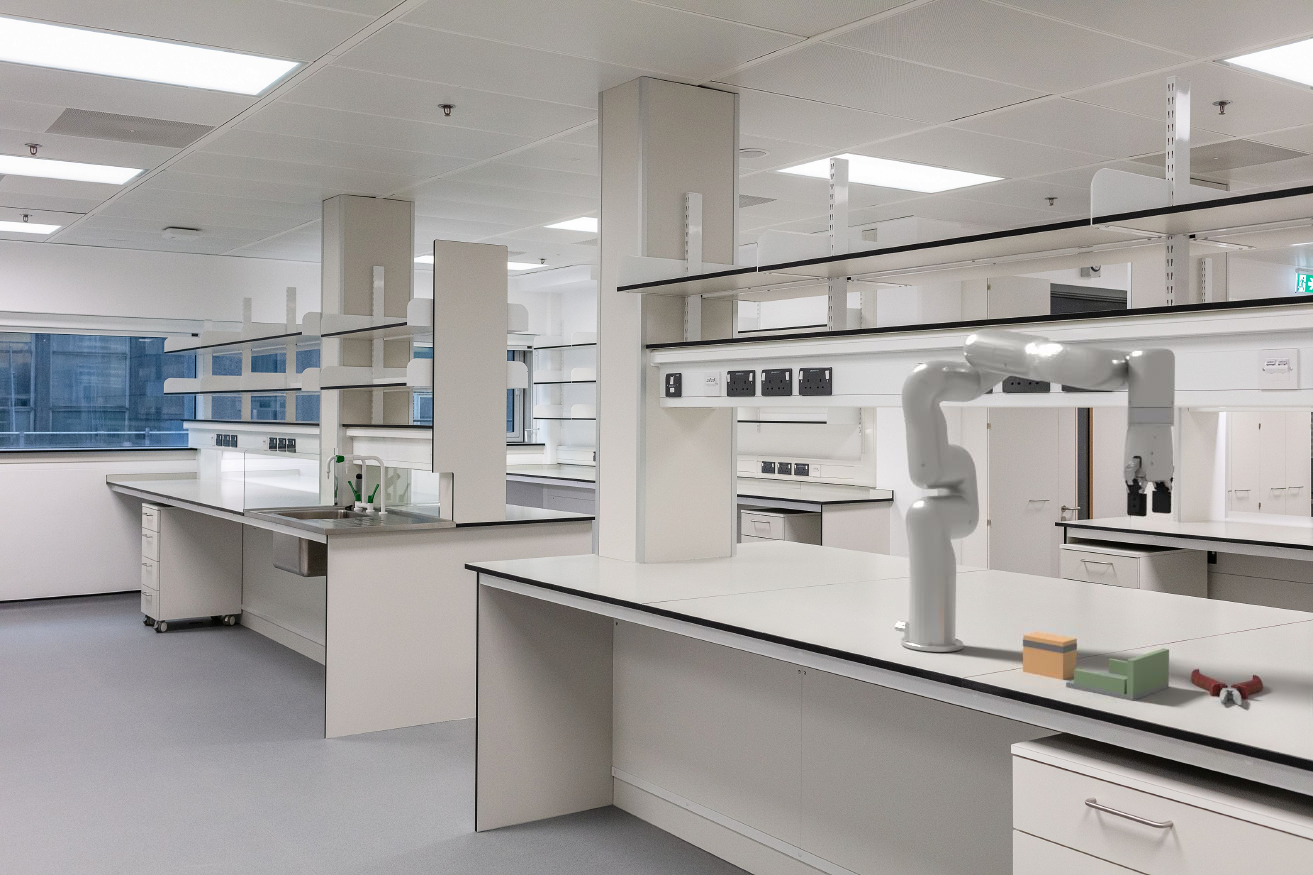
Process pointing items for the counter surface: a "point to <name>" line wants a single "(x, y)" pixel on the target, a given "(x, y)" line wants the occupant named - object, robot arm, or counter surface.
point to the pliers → (1222, 689)
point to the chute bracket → (1127, 676)
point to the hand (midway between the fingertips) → (1149, 514)
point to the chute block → (1049, 655)
